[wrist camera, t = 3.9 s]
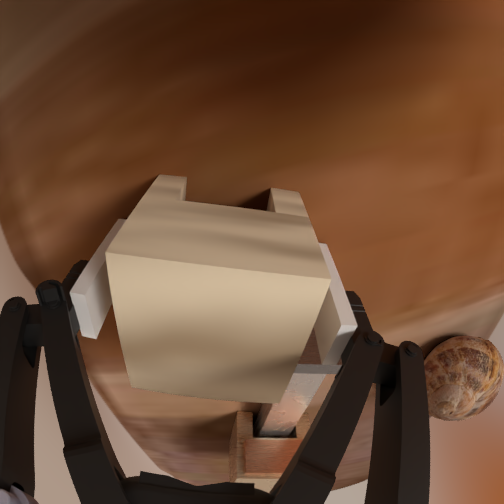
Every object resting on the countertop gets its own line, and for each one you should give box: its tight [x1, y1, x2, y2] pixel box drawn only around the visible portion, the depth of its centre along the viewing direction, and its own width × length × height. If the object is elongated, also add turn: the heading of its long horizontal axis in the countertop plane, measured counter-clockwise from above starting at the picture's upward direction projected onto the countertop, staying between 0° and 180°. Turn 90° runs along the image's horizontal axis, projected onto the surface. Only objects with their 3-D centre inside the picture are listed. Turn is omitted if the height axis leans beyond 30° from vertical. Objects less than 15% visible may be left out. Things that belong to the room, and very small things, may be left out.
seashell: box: [424, 336, 504, 421], centre depth 23 cm, size 10×9×10 cm
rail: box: [229, 326, 342, 493], centre depth 24 cm, size 23×7×8 cm, turn 171°
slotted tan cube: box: [105, 175, 332, 404], centre depth 15 cm, size 9×7×8 cm
